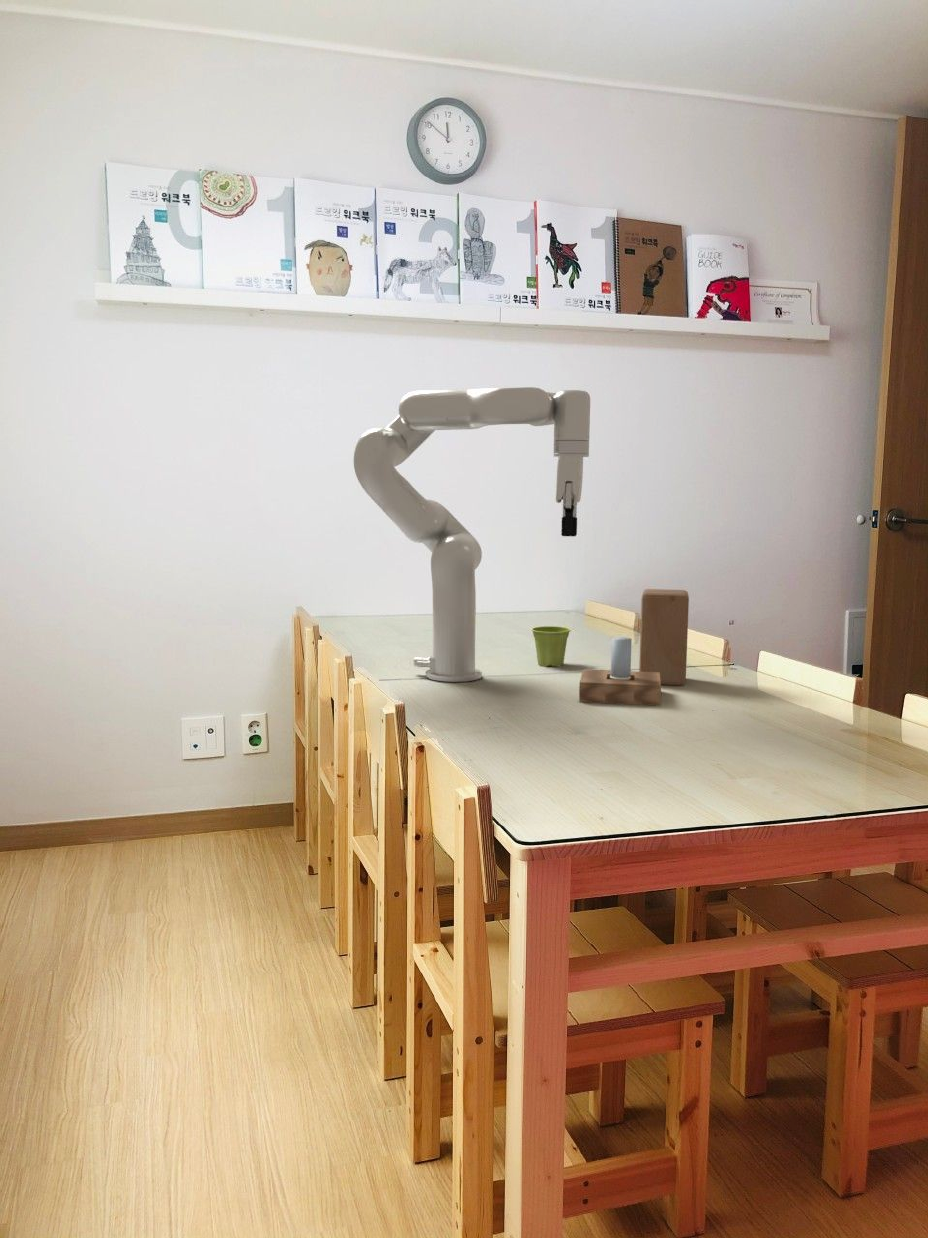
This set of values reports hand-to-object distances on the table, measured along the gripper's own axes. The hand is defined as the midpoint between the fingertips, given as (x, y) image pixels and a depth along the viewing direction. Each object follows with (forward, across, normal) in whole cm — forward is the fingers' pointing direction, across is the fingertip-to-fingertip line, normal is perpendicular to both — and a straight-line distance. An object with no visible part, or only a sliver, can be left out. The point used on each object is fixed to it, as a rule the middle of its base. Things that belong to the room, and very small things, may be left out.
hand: (569, 535), depth 219 cm
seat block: (+32, +13, +12) cm, 37 cm away
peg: (+32, +13, +12) cm, 37 cm away
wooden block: (+32, -5, +21) cm, 39 cm away
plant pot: (+32, -20, -5) cm, 38 cm away
